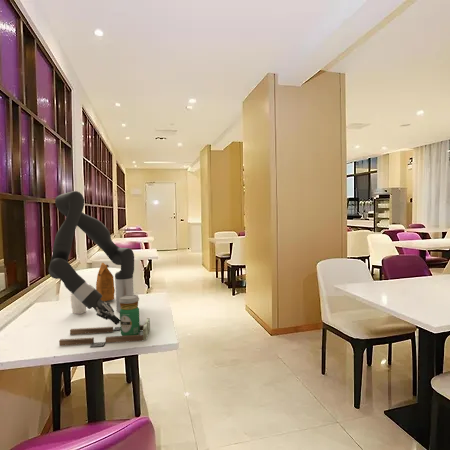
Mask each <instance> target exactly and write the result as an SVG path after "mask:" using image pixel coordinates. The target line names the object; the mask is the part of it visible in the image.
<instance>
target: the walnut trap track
mask: <svg viewBox="0 0 450 450" xmlns="http://www.w3.org/2000/svg"><path fill="white" fill-rule="evenodd" d="M140 330H143V331H142V334H138V335H127V336H122V335H115V336H114V335H113V336H106V337H105V339H104V340H105V341H99V342H96V341H95V338H94V336H93V337H78V338H77V337H76V338H61V339H60V340H59V341H58V342H59V346H75V345H77V346H78V345H90V346H89V348H103V347H104V346H105V344H108V343H109V344H110V343H127V342H126V341H129V342H140V341H142V340H147V339H146V338H148V336H149V332H150V330H151V320H150V317H147V318H146V320H145V322H144V324H140ZM113 332H121V329H120V326H116V327H114V326H98V327H82V328H71V329H70V330H69V334H70V335H86V334H87V335H88V334H89V335H90V334H105V333H106V334H107V333H113ZM147 335H148V336H147ZM142 342H143V341H142Z"/></svg>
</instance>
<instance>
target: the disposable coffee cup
mask: <svg viewBox="0 0 450 450" xmlns="http://www.w3.org/2000/svg"><path fill="white" fill-rule="evenodd" d="M139 301H140V297H139V295H138V294H134V295H124V296H121V297H120V298H119V303H120V307H122V306H125V305H137V306H139Z"/></svg>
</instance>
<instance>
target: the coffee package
mask: <svg viewBox="0 0 450 450" xmlns="http://www.w3.org/2000/svg"><path fill="white" fill-rule="evenodd" d="M109 267H110V265H109V264H105V263H104V262H101V264H100V266H99V270H98V272H97V276H96V282H95V289H96V290H97V291H98V292H99V293H100V294H101V295H102V298H101V300H102V301H104V302H105V303H106V302H108V301H109V302H110V301H113V300H115V293H116V288H115V281H114V279H115V278H114V275H113V274H112V272H111V270H109Z"/></svg>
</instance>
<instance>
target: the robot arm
mask: <svg viewBox="0 0 450 450" xmlns="http://www.w3.org/2000/svg"><path fill="white" fill-rule="evenodd" d="M54 204H55V207H56V208H57V210H58V211H59V212H60V213H61V214H62V215H63V216H65V220H63V223H62V224H61V225H60V228H58V230H57V232H56V233H55V234H56V235H55V236H54V243H53V246H52V253H51V254H52V255H51V259H50V263H49V265H48V269H47V270H48V274H49V276H50V277H51V278H53V279H55V280H58V279H59V280H60V281H62V283H63V285H64V287H65V289H67V290H68V291H69V292H70V294H74V296H75V297H76V298H77V299H78V300H79V301H80V302H81V303H83V304H84V305H85V306H86V309H89V310H91V309H92V308H93V309H94V310H95V312H96V314H95V315H96V316H97V317H100V318H101V319H104V320H106V321H107V320H108V321H111V322H112V323H113V324H114V325H115V326H117V325H118V324H120V317H119V318H118V316H116V315H115V310H114V309H113V307H112V306H111V304H110V303H109V302H106V301H105V302H104V301H102V300H101V298H102V295H101V294H100V293H99V292H98V291H97V290H96V287H95V288H94V286H93V285H92V284H90V283H89V282H87V281H86V280H85V279H84V278H83V277H82V276H81V275H79V274H78V273H77V271H76V270H75V269H74V268H73V266H72V265H71V264H70V263H69V257H70V255H71V252H72V251H71V250H72V248H73V247H72V246H73V240H74V236H75V232H76V230H77V229H76V228H77V227H78V228H79V229H80V230H81V231H82V232H84V234H85V235H87V237H88V238H89V239H90V240H91V241H92V242H93V243H94V244H96V245H97V246H98V248H100V249H101V250H102V251H103V252H104V254H105V255H106V256H107V257H108V259H109V260H110V261H111V262H112V263H113V264H114V265H117V266H120V270H119V271H117V272H115V274H114V279H115V281H114V287H115V299H116V300H115V309H116V312H118V313H120V309H121V307H120V303H119V298H120V297H121V296H124V295H135V294H134V273H135V253H134V251H133V249H132V248H128V247H119V246H118V245H117V244H116V243H115V242H113V240H112V236H111V232H110V230H109V229H108V227H107V226H106V225H105V224H104V223H103V222H102V221H100V220H99V219H97V218H95V217H93V216H91V215H88V214H86V213H84V212H83V210H84V208H85V197H84V195H83V194H82V192H80V191H78V190H77V191H76V190H73V191H69V192H64V193H62V194H59V195H57V196H56V197H55V200H54Z"/></svg>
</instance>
